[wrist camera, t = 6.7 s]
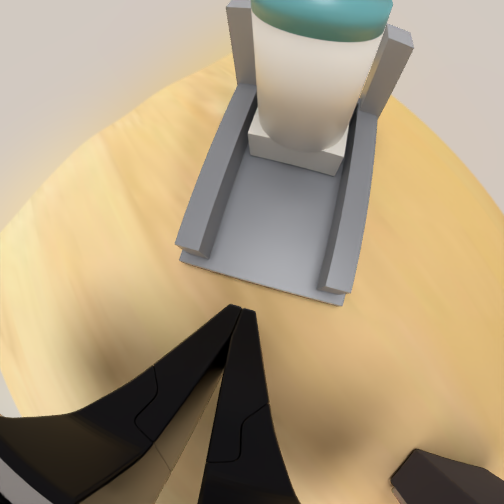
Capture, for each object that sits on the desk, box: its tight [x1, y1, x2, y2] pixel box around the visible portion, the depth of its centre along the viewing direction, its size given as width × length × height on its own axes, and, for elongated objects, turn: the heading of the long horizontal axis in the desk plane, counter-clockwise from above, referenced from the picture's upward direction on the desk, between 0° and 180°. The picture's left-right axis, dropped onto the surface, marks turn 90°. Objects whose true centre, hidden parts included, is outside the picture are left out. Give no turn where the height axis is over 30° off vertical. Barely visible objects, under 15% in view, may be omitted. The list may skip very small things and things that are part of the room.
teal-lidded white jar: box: [248, 0, 393, 176], centre depth 11 cm, size 5×5×10 cm
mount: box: [175, 0, 414, 306], centre depth 12 cm, size 12×9×9 cm
